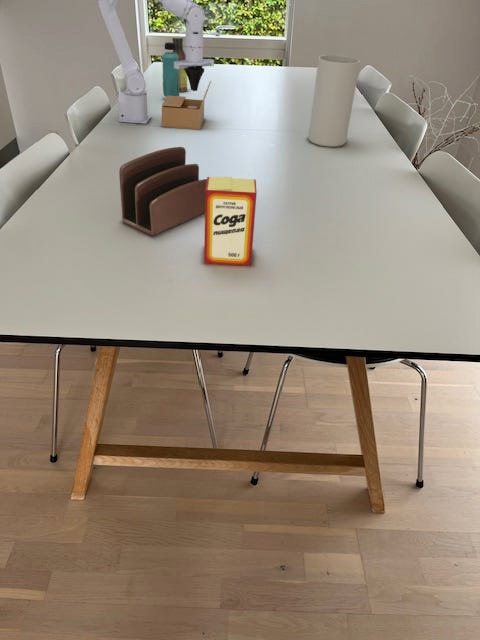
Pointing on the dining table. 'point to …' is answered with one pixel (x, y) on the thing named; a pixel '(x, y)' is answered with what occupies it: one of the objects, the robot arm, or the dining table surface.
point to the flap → (205, 94)
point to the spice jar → (192, 107)
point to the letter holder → (161, 191)
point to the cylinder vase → (333, 99)
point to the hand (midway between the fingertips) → (194, 90)
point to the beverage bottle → (170, 71)
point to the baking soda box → (229, 220)
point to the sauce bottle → (182, 56)
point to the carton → (182, 113)
